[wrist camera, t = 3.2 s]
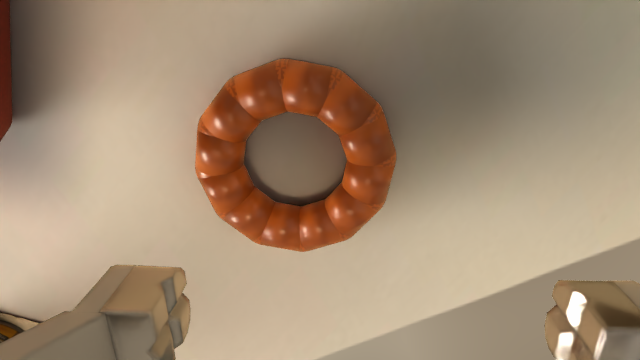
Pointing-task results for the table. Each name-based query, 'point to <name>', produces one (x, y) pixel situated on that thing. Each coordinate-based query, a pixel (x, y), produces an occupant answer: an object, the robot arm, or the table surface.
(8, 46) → the flower pot
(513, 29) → the table surface
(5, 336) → the condiment
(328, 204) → the ring
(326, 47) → the table surface
